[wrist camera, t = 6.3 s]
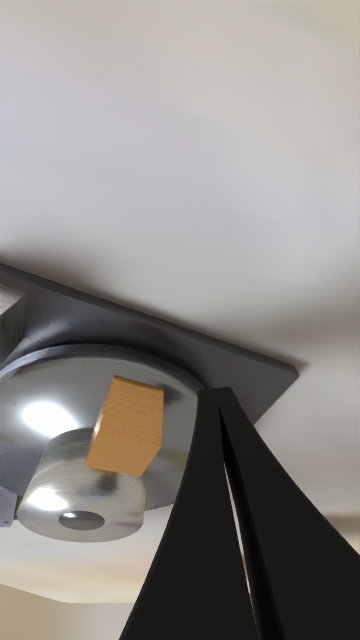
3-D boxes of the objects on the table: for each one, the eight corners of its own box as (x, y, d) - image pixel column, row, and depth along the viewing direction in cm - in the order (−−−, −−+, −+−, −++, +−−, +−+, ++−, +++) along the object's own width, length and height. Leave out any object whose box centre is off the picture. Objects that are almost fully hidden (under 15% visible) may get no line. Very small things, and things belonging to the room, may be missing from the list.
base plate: (177, 494, 23) (178, 540, 21) (-30, 459, 19) (-66, 510, 16) (294, 366, 15) (323, 413, 12) (-36, 250, 11) (-112, 281, 8)
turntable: (169, 498, 21) (168, 571, 18) (-19, 467, 18) (-71, 550, 14) (265, 389, 14) (300, 472, 10) (-15, 302, 11) (-120, 378, 7)
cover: (133, 488, 17) (126, 547, 14) (41, 475, 15) (14, 537, 13) (161, 440, 14) (158, 503, 11) (50, 418, 12) (17, 484, 10)
